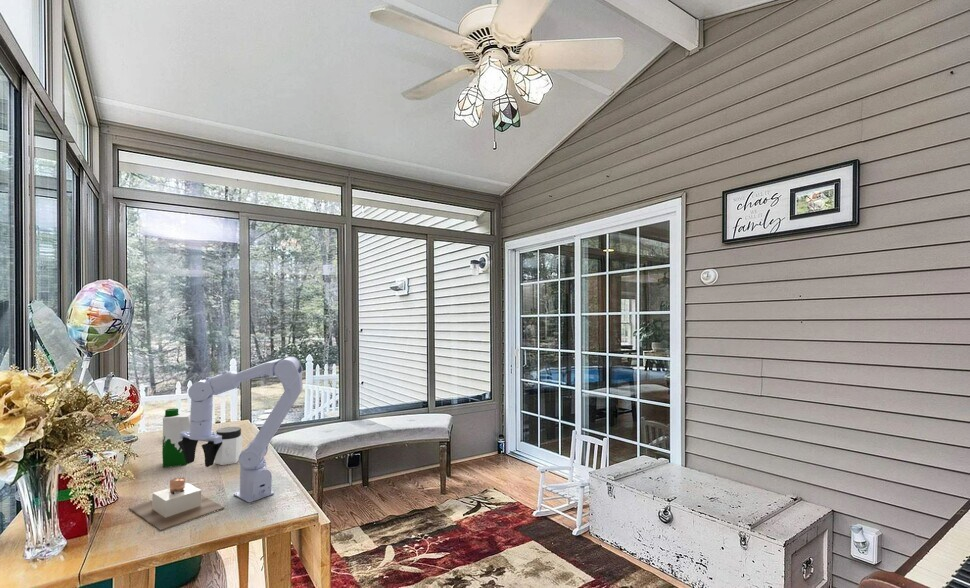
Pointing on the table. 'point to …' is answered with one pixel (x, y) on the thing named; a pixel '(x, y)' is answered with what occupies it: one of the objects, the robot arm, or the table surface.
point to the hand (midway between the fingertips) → (199, 464)
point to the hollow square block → (176, 500)
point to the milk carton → (174, 437)
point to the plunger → (177, 485)
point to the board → (177, 519)
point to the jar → (229, 446)
